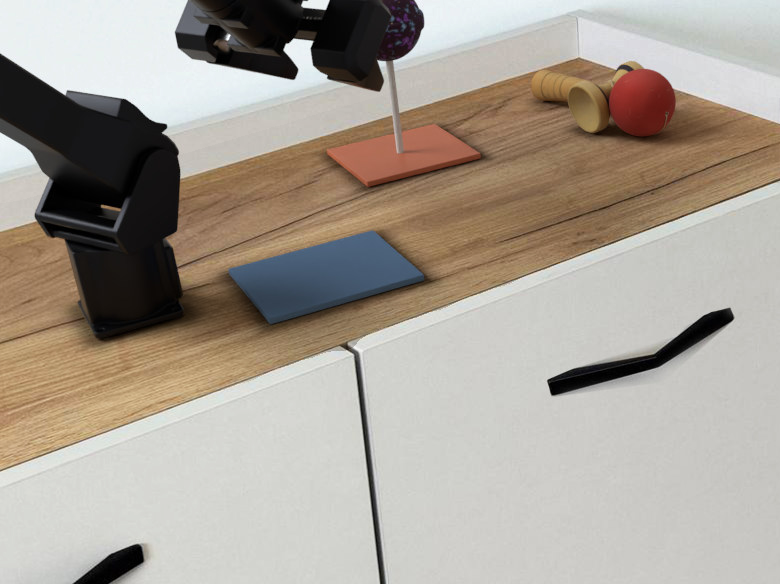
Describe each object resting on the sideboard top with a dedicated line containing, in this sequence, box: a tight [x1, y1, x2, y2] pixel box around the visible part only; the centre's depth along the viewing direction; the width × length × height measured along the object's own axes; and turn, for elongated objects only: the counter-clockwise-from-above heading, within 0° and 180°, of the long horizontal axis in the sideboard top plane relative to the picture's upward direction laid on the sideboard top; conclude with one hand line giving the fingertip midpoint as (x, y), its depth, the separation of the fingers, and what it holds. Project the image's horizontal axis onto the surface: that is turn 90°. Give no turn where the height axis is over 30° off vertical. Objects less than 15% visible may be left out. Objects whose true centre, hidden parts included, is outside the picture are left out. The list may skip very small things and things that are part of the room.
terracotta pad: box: [326, 123, 482, 188], centre depth 120 cm, size 11×10×1 cm
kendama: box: [530, 60, 677, 137], centre depth 124 cm, size 8×6×18 cm
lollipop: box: [376, 0, 425, 153], centre depth 116 cm, size 7×7×15 cm
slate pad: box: [227, 229, 425, 325], centre depth 99 cm, size 12×10×1 cm
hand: (337, 80), depth 110 cm, fingers open, 9 cm apart
